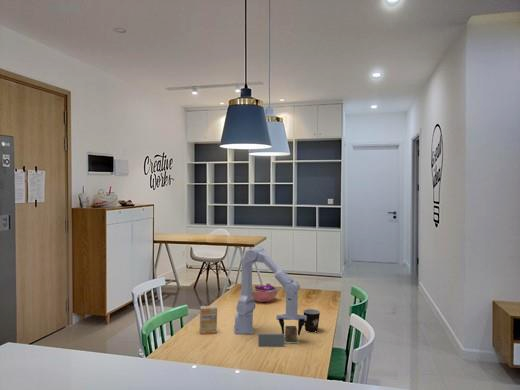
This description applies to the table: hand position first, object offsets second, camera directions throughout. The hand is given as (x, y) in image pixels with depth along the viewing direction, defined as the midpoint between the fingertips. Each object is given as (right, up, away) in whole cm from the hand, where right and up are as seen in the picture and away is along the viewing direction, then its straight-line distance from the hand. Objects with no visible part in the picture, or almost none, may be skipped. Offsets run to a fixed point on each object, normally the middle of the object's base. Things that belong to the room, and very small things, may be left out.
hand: (291, 334), depth 191 cm
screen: (-10, -3, -6) cm, 12 cm away
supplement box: (-41, -3, +9) cm, 43 cm away
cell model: (-13, -3, +70) cm, 71 cm away
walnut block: (0, -3, 0) cm, 3 cm away
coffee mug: (+10, -4, +15) cm, 19 cm away
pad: (0, -3, 0) cm, 3 cm away
